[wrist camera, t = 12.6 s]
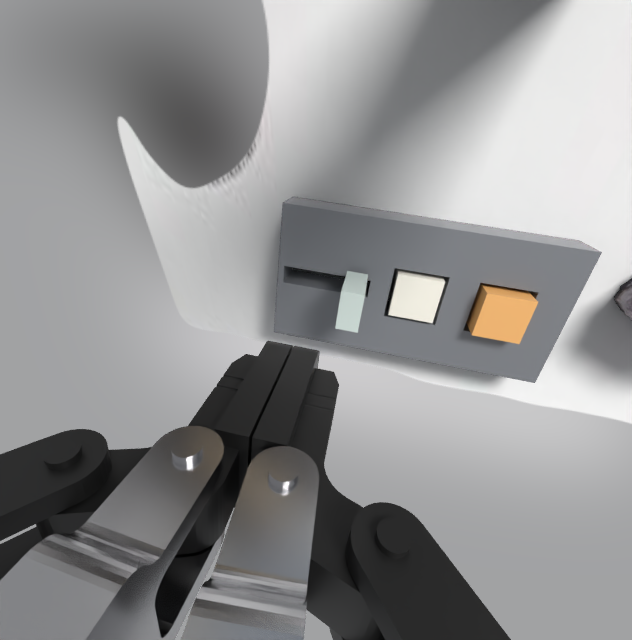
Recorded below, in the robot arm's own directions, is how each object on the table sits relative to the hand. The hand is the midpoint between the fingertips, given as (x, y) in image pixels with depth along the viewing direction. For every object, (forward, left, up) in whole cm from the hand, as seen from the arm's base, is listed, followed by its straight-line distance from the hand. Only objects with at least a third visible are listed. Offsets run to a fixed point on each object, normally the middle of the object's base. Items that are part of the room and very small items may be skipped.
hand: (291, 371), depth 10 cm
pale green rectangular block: (+7, +1, -29) cm, 30 cm away
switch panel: (+7, +7, -29) cm, 31 cm away
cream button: (+7, +7, -29) cm, 30 cm away
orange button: (+7, +15, -27) cm, 32 cm away
